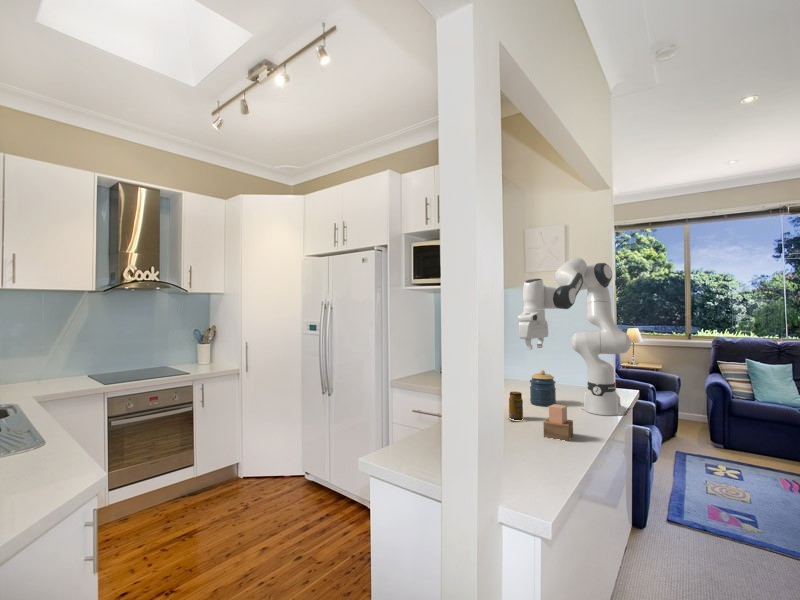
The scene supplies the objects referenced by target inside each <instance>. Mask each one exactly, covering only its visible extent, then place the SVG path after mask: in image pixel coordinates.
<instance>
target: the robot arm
mask: <svg viewBox="0 0 800 600" xmlns="http://www.w3.org/2000/svg"><path fill="white" fill-rule="evenodd" d="M554 278H555V281H556V283H557V284H558V285H557V286H546V285H544V280H543V279H541V278H532V279H531V278H529V279H527V280H525V281H524V283H523V288H522V301H523V309H522V313H520V314H519V315H518V316H517V321H519V322H518V337H519V338H520V340H524V343H525V345H526V350H528V351H531V350H533V345H532V340H533V339H537V344H536V346H537V347H536V348H537V349H542V348H543V343H544V341H545V339H544V338H548V337H549V324H548V321H547V320H546V309H548V310H549V309H551V310H552V309H554V310H555V309H559V310H560V309H561V310H569V309H570V308H571V307H573V305H574V304H575V301H576V298H577V295H578V294H579V293H580V291H584V290H587V294H586V305H585V306H586V319H587V321H588V322H589V324H592V325H593V326H596V327H598V328H599V329H600V330H583V331H577V332H575V333H573V334H572V337H571V339H570V345H571V347H572V349H573V350H574V351H575V352H576V353H578V354H579V355H580V356H581V357H582V358H583V360H584V362H585V364H586V367H587V377H588V379H587V380H588V381H587V383H586V384H587V385H586V387H587V390H586V391H585V392H584V405H582V406H581V410H584V411H585V412H587V413H589V414H593V415H601V416H624V415H625V412H626V409H627V408H626V406H624V405H621V397H620V396H619V394H618V392H617V389H616V388H617V382H615V376H614V375H615V374H614V373H615V372H614V367H613V365H612V364H611V363H610V362H607V361H605V360H603V359H602V358H600V357H599V355H619V354H625V353H628V351H630V349H631V346H632V345H631V344H632V340H631V338H630V337H629V335H628V334H627V333H626V332H624V331H622V329H620V328H619V327H618V326H617V325H616V323H615V320H614V319H613V313H612V301H611V299H612V298H611V295H610V290H609V288H608V287H609V286H610V283H611V281H612V278H613V271H612V269H611V266H610V265H608V264H607V263H605V262H599V263H596V264H591V265H587V262H586V261H585V260H584V259H583V258H580V257H573V258H571V259H568V260H567V261H565V262H564V263H562V264H561V265H560V266H559V267H558V268H557V269H556V271H555V275H554Z"/></svg>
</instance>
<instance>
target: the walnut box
mask: <svg viewBox="0 0 800 600" xmlns="http://www.w3.org/2000/svg"><path fill="white" fill-rule="evenodd" d="M542 423H543V438H545V437H547V438H546V439H550V438H553V439H552V440H556V439H560V440H559V441H562V440H565V441H564V442H569V441H570V440H571V439H572V437H573V436H574V420H573V419H567V422H565V423H563V424H559V423H553V422H549V417H547V418H546V419H545V421H543V422H542ZM570 438H571V439H570ZM569 439H570V440H569Z"/></svg>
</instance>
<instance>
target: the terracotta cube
mask: <svg viewBox="0 0 800 600" xmlns="http://www.w3.org/2000/svg"><path fill="white" fill-rule="evenodd" d="M567 407H568V405H563V404H557V403H556V404H553V405H551V406H548V418H549V422H553V423H559V424H563V423H565V422H567V420H568V408H567Z"/></svg>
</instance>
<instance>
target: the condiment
mask: <svg viewBox="0 0 800 600" xmlns="http://www.w3.org/2000/svg"><path fill="white" fill-rule="evenodd" d="M522 394H523V393H522V392H521V391H510V392H509V399H508V413H509V415H508V416H509V418H511V419H514V420H522V419H523V418H524V408H523V405H524V403H523V402H524V401H523V400H524V399H523V398H522V397H523V396H522ZM522 422H527V420H526V419H525V418H524V419H523V420H522V421H520V422H519V423H522Z"/></svg>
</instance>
